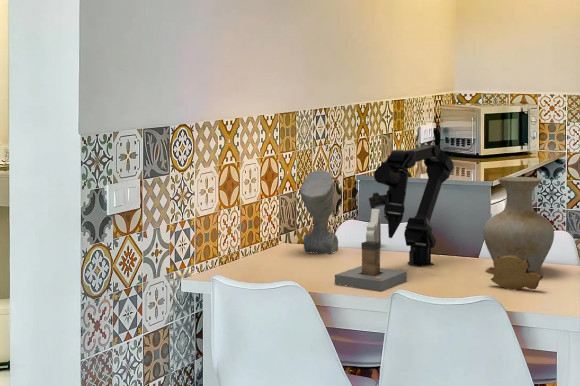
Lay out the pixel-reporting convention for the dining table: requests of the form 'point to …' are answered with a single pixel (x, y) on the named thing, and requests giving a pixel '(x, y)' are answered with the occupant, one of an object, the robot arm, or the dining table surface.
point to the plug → (371, 258)
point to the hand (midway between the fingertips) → (390, 237)
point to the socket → (371, 279)
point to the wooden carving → (514, 273)
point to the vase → (519, 225)
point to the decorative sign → (374, 227)
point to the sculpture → (319, 211)
